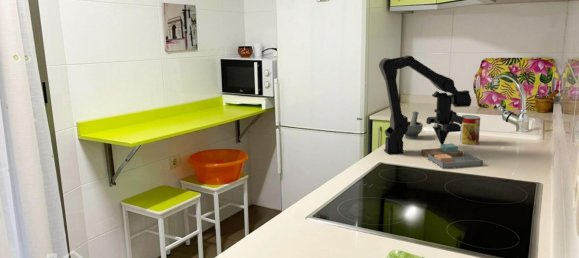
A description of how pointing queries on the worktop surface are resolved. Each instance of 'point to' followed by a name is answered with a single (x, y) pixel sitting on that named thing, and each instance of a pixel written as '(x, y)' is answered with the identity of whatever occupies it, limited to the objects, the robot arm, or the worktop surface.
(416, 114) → the mortar and pestle
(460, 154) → the walnut step
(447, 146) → the teal tile
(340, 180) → the worktop surface
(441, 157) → the terracotta tile
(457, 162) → the grey tray
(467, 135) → the canned food
